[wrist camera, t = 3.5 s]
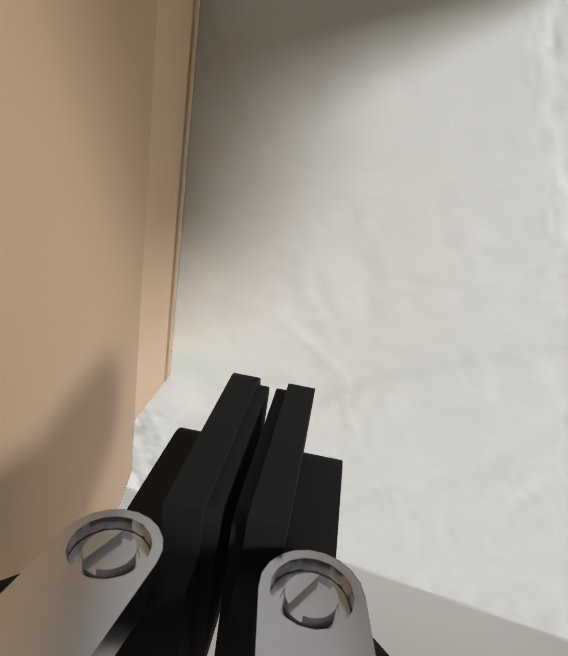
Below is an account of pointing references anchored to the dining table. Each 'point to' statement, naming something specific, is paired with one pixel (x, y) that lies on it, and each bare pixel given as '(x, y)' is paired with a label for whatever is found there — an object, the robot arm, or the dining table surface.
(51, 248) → the box lid
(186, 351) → the dining table surface
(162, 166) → the cardboard box
